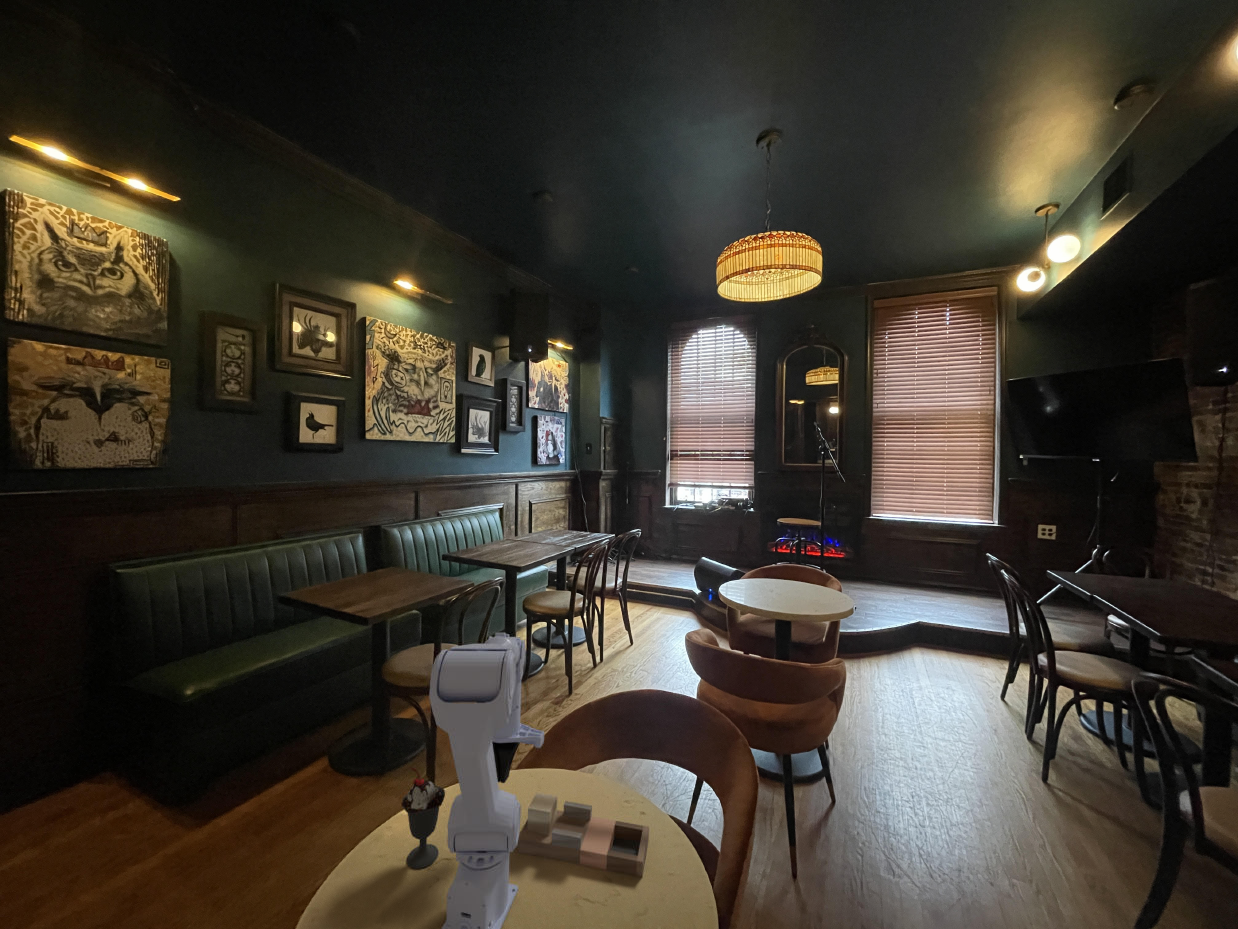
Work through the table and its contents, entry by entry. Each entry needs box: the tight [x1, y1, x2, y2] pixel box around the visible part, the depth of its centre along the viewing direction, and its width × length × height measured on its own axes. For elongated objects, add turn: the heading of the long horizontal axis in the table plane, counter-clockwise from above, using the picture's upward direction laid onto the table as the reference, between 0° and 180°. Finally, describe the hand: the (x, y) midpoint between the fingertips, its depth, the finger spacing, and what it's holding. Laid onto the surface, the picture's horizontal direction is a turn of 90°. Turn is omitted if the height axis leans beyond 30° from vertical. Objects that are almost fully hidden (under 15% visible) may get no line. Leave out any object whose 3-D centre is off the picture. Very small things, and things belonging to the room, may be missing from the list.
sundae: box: [401, 767, 446, 870], centre depth 81 cm, size 7×7×15 cm
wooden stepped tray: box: [517, 800, 650, 878], centre depth 85 cm, size 8×22×4 cm, turn 79°
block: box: [527, 792, 558, 835], centre depth 86 cm, size 4×4×4 cm
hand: (502, 779), depth 88 cm, fingers closed
